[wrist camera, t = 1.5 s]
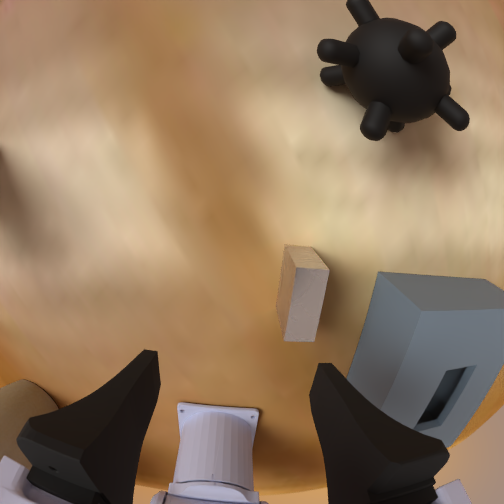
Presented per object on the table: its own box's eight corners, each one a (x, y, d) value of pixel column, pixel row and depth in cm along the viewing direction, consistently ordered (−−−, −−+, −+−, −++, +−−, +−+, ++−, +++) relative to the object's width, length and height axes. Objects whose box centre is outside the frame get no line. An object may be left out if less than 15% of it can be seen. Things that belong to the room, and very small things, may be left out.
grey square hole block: (427, 409, 28) (450, 446, 22) (328, 423, 27) (343, 472, 21) (484, 279, 23) (528, 306, 16) (378, 271, 22) (421, 310, 16)
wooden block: (300, 307, 23) (313, 341, 18) (275, 305, 23) (283, 340, 18) (311, 246, 22) (329, 269, 17) (284, 244, 21) (296, 267, 17)
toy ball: (450, 181, 18) (325, 175, 14) (387, 99, 22) (272, 80, 19) (525, 84, 9) (411, -2, 6) (432, 14, 13) (307, -39, 10)
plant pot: (-16, 341, 24) (-83, 410, 9) (69, 375, 25) (3, 484, 10) (17, 417, 28) (-24, 484, 13) (96, 450, 29) (64, 537, 14)
